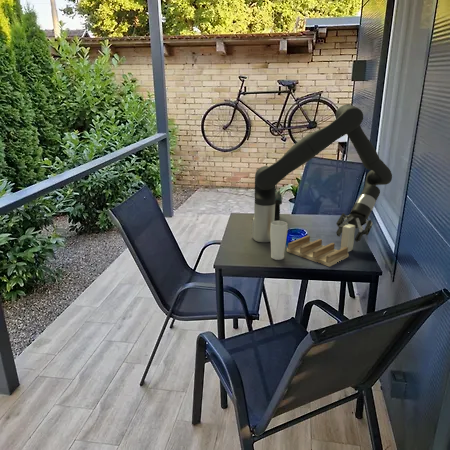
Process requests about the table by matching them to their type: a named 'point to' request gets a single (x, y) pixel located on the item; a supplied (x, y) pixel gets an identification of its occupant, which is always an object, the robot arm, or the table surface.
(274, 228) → the drinking glass
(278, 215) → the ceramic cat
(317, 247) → the ridged wooden tray
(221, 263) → the table surface
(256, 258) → the table surface
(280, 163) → the robot arm
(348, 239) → the cream rectangular block
